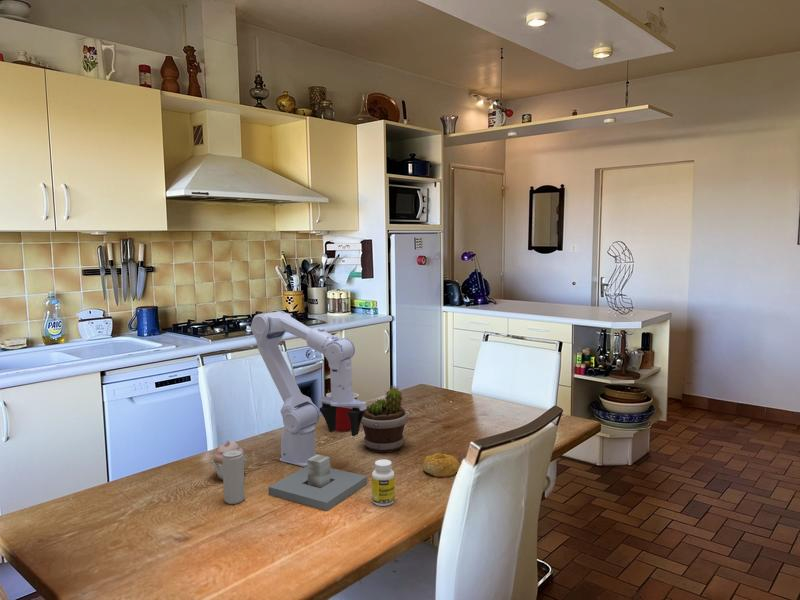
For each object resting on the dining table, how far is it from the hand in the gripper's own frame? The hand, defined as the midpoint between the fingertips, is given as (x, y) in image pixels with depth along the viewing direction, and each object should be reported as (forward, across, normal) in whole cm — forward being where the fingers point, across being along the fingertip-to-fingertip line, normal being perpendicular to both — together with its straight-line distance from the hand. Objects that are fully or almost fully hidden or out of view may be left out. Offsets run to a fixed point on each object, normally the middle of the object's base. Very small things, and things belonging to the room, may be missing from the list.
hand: (343, 433), depth 156 cm
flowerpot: (+11, 0, +20) cm, 23 cm away
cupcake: (+10, -25, -18) cm, 32 cm away
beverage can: (+10, -13, -28) cm, 32 cm away
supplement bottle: (+11, +19, -11) cm, 25 cm away
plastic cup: (+10, -21, +28) cm, 36 cm away
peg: (+10, +1, -13) cm, 17 cm away
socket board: (+10, +1, -13) cm, 17 cm away
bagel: (+12, +23, +13) cm, 29 cm away
